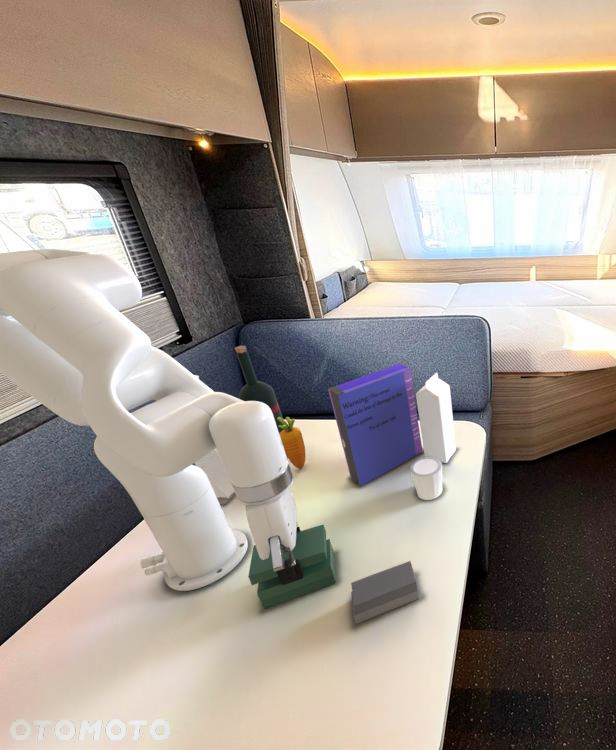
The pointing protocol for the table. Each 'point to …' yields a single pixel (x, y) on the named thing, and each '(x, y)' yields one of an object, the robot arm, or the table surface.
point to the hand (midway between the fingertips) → (293, 562)
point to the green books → (299, 582)
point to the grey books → (383, 592)
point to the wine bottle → (257, 387)
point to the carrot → (292, 442)
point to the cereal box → (377, 422)
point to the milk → (436, 419)
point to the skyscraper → (216, 475)
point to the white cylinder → (427, 477)
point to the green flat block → (306, 551)
